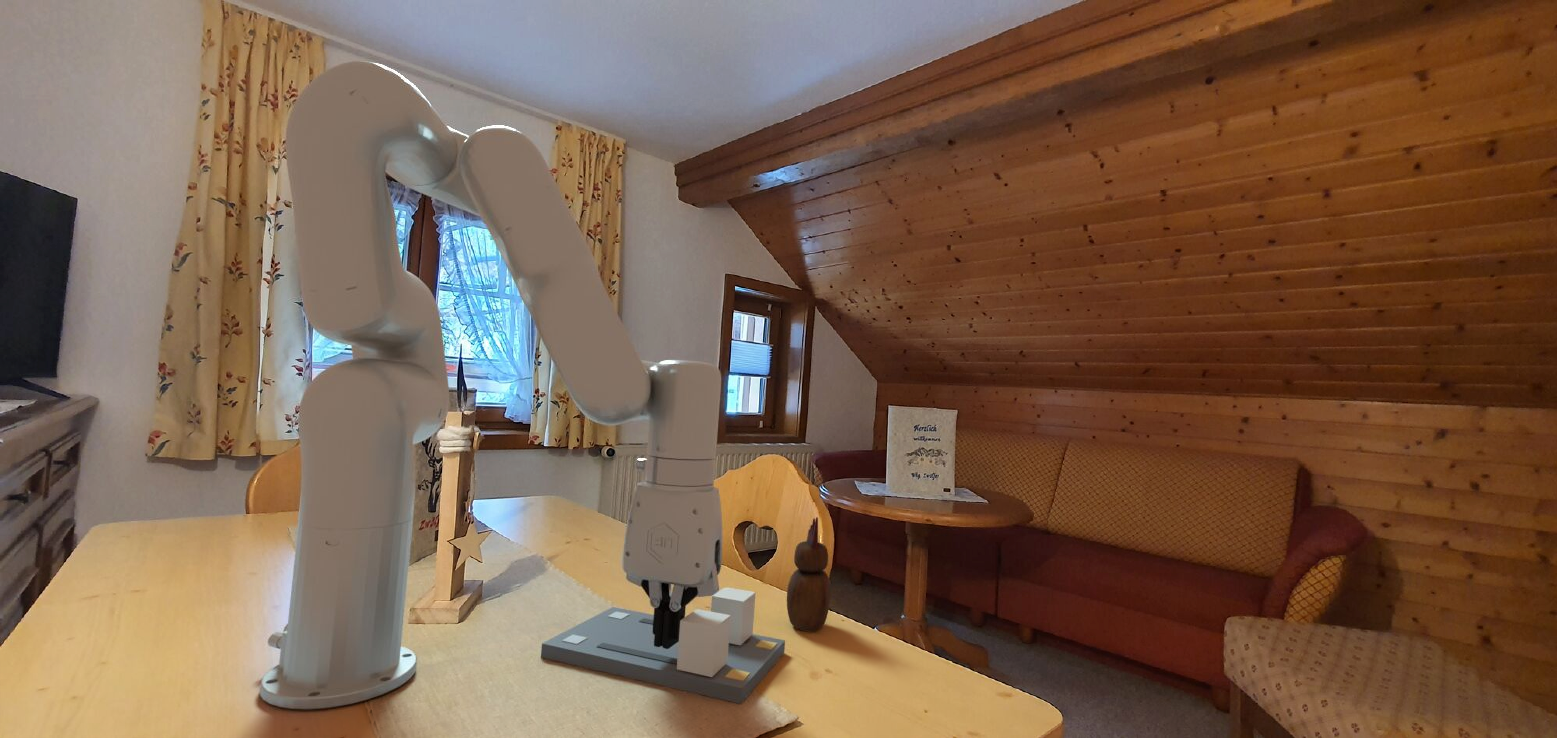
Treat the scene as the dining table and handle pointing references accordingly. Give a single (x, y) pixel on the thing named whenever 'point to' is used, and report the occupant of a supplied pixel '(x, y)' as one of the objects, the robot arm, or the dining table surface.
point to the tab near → (703, 642)
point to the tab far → (736, 612)
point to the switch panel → (659, 655)
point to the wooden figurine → (809, 584)
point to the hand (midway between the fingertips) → (667, 643)
